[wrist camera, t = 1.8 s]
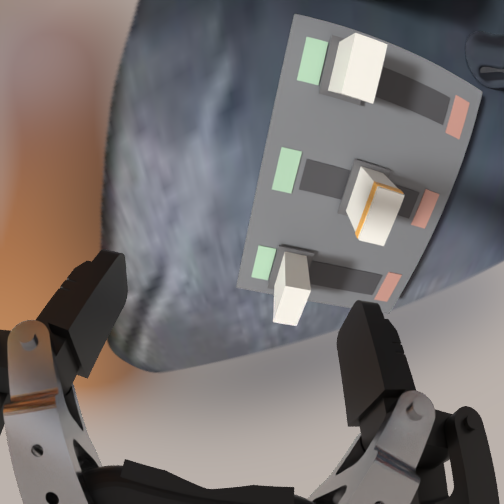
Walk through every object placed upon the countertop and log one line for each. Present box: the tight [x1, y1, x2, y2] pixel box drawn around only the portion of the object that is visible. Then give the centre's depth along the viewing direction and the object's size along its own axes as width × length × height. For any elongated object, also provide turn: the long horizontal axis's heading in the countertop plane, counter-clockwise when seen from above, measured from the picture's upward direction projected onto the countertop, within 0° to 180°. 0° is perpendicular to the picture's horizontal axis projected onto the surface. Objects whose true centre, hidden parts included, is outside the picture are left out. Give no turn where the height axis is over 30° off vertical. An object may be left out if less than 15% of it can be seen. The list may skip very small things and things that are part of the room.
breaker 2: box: [318, 33, 388, 106], centre depth 16 cm, size 3×5×5 cm
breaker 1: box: [267, 245, 314, 326], centre depth 26 cm, size 3×5×5 cm
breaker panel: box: [236, 14, 482, 314], centre depth 24 cm, size 17×25×3 cm
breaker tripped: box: [337, 159, 405, 246], centre depth 21 cm, size 3×5×5 cm
